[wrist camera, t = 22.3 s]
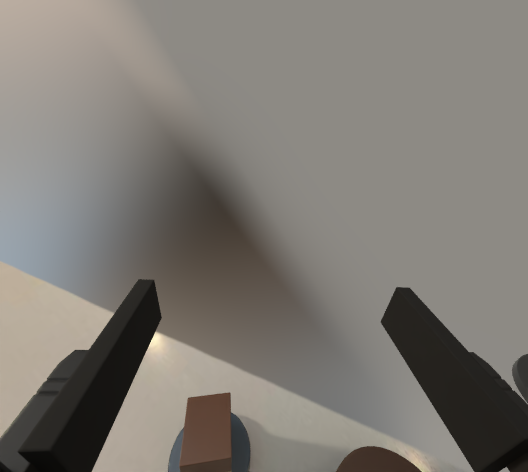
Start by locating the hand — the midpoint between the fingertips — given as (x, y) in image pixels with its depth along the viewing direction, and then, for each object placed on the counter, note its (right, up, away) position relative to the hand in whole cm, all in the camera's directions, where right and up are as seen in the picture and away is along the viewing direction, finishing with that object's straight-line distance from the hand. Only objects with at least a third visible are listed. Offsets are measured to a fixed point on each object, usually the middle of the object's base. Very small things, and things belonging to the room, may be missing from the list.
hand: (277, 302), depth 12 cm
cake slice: (-8, -24, +16) cm, 30 cm away
